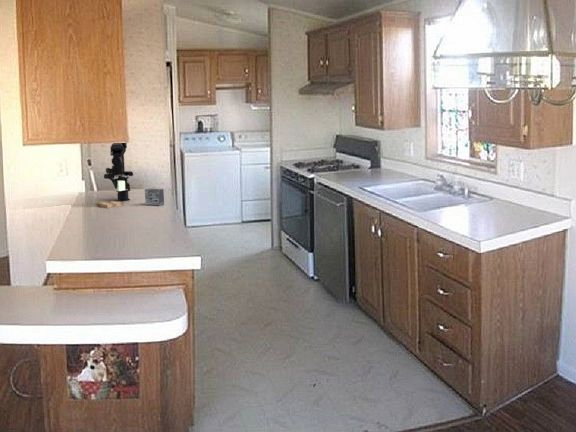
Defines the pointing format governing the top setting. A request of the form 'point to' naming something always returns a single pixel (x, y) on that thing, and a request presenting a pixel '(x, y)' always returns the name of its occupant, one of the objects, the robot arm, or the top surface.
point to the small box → (154, 197)
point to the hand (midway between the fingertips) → (119, 188)
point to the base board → (109, 204)
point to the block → (120, 186)
